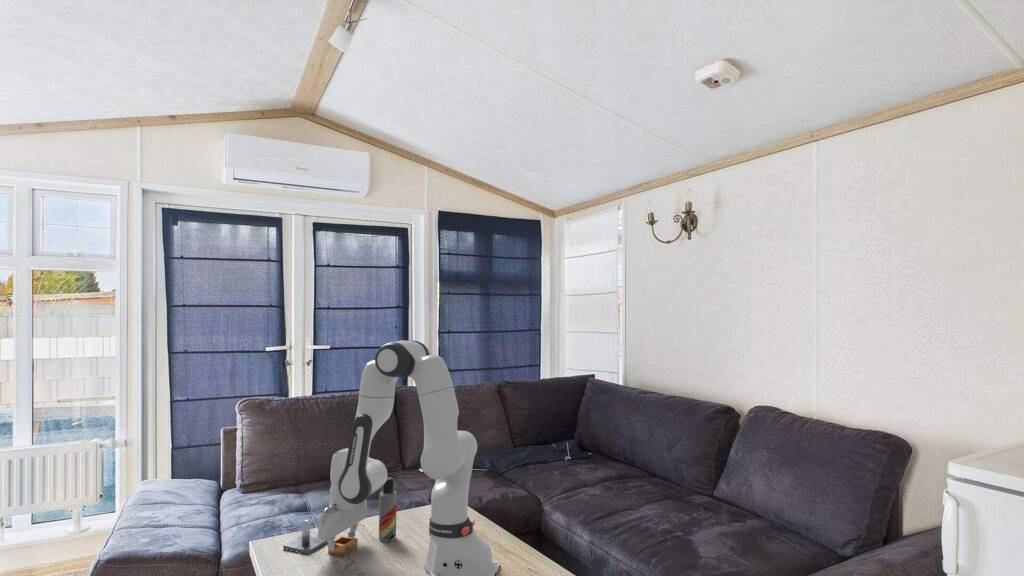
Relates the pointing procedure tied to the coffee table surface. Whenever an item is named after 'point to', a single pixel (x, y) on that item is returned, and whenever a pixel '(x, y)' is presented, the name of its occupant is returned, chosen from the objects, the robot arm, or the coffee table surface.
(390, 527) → the lotion bottle
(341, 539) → the wooden square frame
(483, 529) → the coffee table surface
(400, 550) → the coffee table surface
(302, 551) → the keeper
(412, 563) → the coffee table surface
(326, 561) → the coffee table surface
